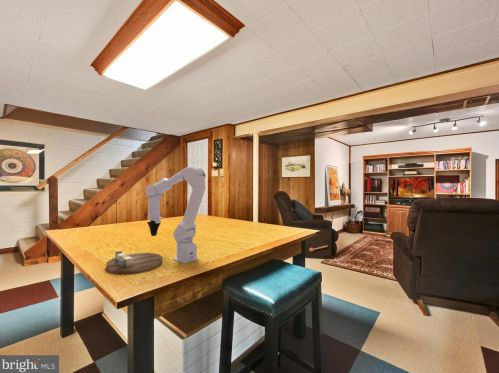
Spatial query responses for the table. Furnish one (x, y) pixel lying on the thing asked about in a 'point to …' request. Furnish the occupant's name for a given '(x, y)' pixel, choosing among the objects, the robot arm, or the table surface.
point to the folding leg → (128, 259)
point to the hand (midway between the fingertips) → (153, 235)
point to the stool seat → (134, 263)
